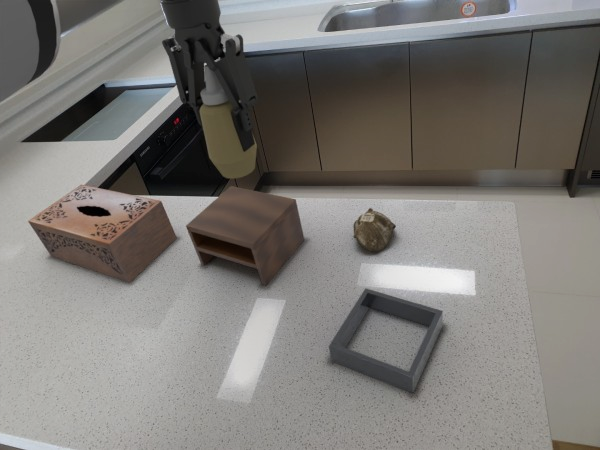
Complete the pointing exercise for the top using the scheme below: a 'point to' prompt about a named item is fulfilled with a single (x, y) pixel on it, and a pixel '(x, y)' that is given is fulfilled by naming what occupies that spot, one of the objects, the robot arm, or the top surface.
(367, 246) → the fossilized seashell
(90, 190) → the tissue box cover
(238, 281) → the top surface
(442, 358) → the top surface
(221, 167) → the squeeze bottle
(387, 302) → the holder
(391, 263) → the top surface
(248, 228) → the wooden shelf
